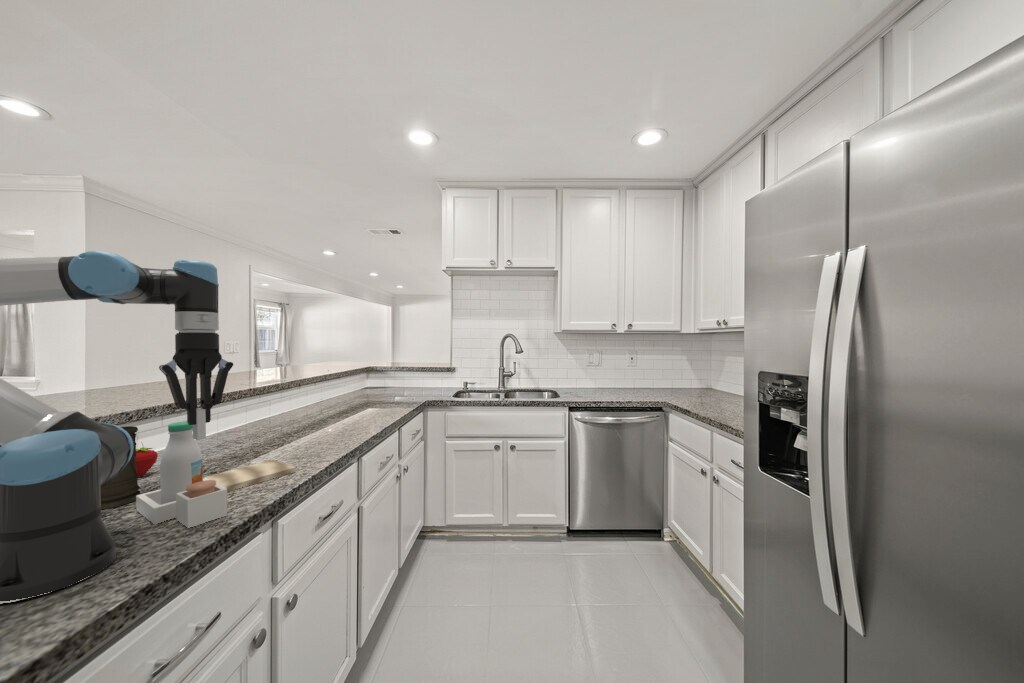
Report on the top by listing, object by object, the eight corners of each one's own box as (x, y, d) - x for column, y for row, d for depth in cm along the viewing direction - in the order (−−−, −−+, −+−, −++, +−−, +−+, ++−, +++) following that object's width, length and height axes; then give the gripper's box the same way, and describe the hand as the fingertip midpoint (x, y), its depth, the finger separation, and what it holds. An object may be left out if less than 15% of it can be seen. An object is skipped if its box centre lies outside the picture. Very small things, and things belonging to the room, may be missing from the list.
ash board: (225, 492, 100) (225, 486, 100) (204, 482, 108) (204, 477, 108) (295, 472, 115) (295, 467, 115) (272, 464, 123) (272, 459, 123)
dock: (168, 535, 78) (167, 506, 78) (136, 510, 90) (135, 484, 90) (243, 510, 89) (242, 484, 89) (205, 491, 101) (205, 468, 101)
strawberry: (123, 477, 114) (122, 443, 114) (158, 470, 119) (157, 438, 119) (122, 482, 109) (121, 447, 109) (158, 475, 114) (157, 442, 114)
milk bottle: (180, 514, 88) (178, 426, 88) (151, 512, 89) (149, 426, 89) (211, 500, 95) (209, 419, 95) (185, 499, 97) (183, 419, 97)
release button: (191, 516, 82) (191, 490, 82) (183, 511, 85) (182, 485, 85) (220, 507, 86) (220, 482, 86) (211, 502, 89) (210, 478, 89)
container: (107, 511, 90) (105, 434, 90) (78, 508, 92) (76, 433, 92) (150, 495, 99) (149, 426, 99) (123, 493, 101) (121, 425, 101)
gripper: (164, 331, 78) (166, 447, 78) (238, 331, 89) (240, 434, 89) (153, 332, 82) (155, 443, 82) (225, 332, 93) (226, 430, 93)
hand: (199, 438), depth 85 cm, fingers closed
